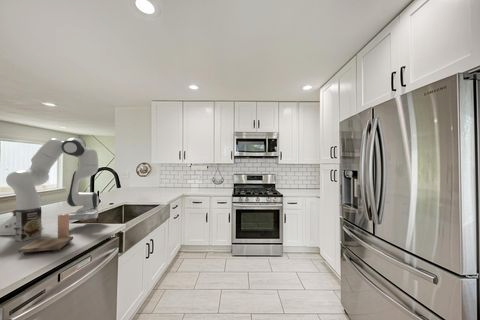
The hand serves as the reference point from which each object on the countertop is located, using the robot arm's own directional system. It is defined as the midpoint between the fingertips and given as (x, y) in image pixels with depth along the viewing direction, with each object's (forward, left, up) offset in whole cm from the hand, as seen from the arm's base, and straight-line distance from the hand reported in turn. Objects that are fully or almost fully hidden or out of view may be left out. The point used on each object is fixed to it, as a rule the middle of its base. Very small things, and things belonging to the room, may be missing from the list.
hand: (74, 218), depth 134 cm
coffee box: (-20, -5, -9) cm, 23 cm away
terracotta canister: (0, -12, -8) cm, 15 cm away
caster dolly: (0, -27, -8) cm, 28 cm away
